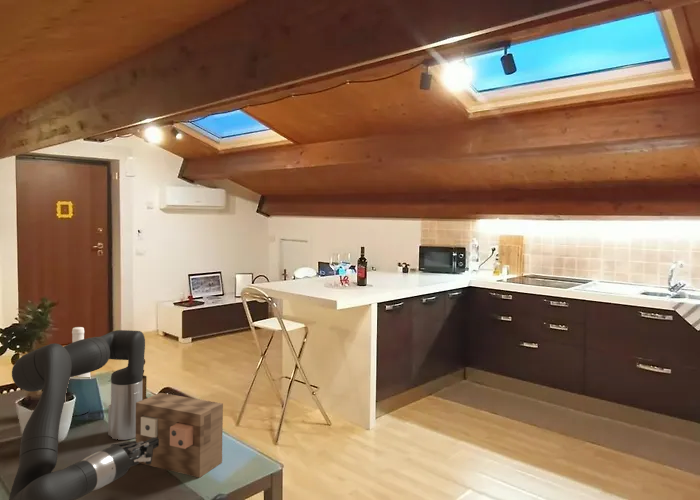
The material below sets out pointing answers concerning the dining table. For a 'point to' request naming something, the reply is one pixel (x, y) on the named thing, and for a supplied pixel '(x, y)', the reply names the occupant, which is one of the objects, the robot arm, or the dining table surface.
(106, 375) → the dining table surface
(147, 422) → the one dot button
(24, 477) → the robot arm
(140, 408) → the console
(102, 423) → the dining table surface
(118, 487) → the dining table surface
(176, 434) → the two dot button
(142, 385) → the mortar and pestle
